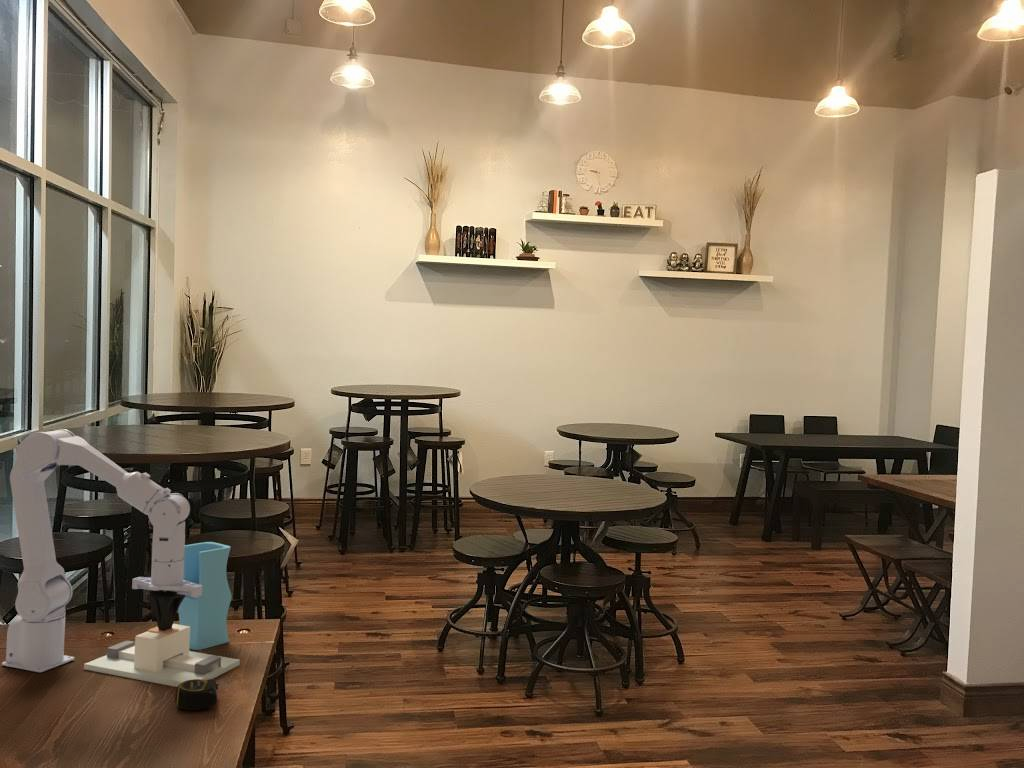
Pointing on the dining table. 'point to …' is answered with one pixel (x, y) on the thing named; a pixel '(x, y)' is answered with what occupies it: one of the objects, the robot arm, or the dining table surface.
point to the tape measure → (196, 694)
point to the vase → (206, 594)
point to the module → (160, 646)
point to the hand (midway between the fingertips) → (165, 630)
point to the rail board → (173, 668)
